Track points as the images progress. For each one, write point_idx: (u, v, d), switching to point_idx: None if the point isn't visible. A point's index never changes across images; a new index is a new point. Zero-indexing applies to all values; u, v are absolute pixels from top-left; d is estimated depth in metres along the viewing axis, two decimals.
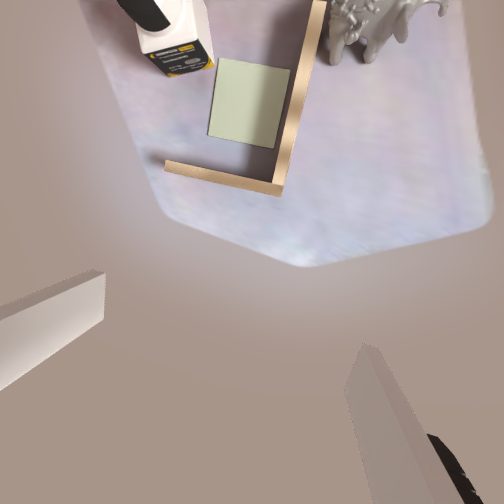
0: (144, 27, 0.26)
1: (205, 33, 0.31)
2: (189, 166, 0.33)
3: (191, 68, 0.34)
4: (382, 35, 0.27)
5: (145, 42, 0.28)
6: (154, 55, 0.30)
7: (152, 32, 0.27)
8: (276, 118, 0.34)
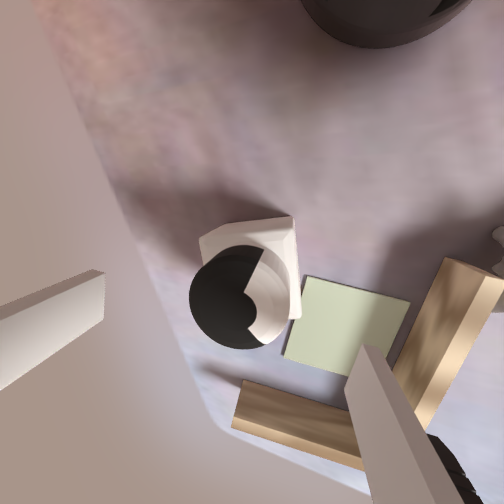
0: None
1: (298, 270, 0.22)
2: (267, 429, 0.24)
3: None
4: None
5: None
6: None
7: None
8: (382, 352, 0.25)
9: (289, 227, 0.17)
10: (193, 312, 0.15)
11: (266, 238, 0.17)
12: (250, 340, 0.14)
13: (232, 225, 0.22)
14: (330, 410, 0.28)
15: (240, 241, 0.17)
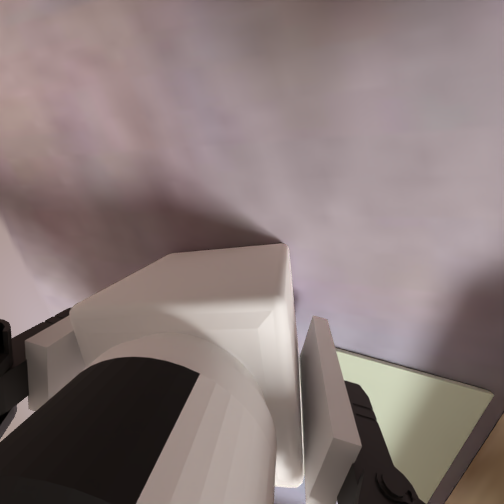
0: None
1: (296, 349, 0.11)
2: None
3: None
4: None
5: None
6: None
7: None
8: (437, 468, 0.15)
9: (274, 295, 0.07)
10: None
11: (219, 320, 0.07)
12: None
13: (174, 262, 0.12)
14: None
15: (157, 324, 0.07)
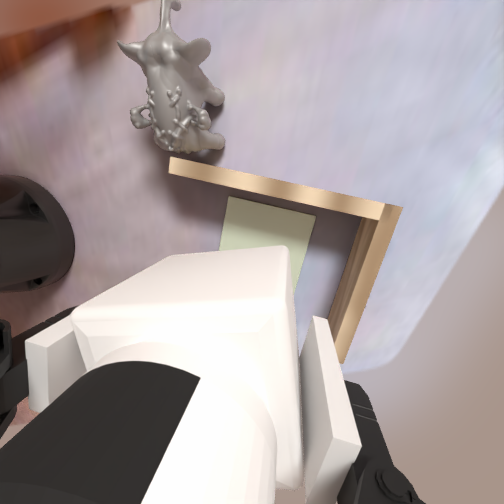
0: None
1: (296, 351, 0.12)
2: (340, 332, 0.25)
3: None
4: (200, 80, 0.22)
5: None
6: None
7: None
8: (279, 212, 0.27)
9: (275, 298, 0.07)
10: None
11: (219, 323, 0.07)
12: None
13: (174, 264, 0.12)
14: (350, 256, 0.27)
15: (157, 328, 0.07)
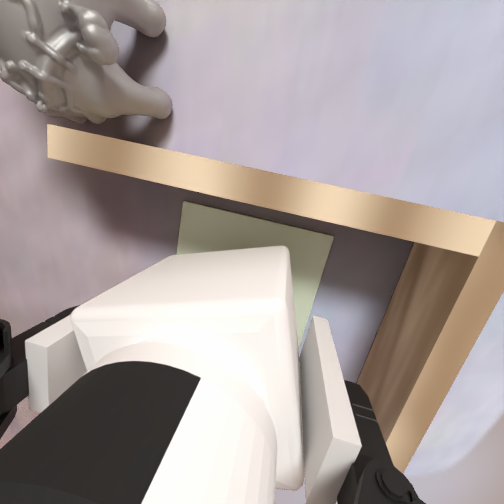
0: None
1: (296, 351, 0.12)
2: None
3: None
4: None
5: None
6: None
7: None
8: (270, 230, 0.16)
9: (275, 298, 0.07)
10: None
11: (219, 323, 0.07)
12: None
13: (174, 264, 0.12)
14: (393, 306, 0.15)
15: (157, 328, 0.07)
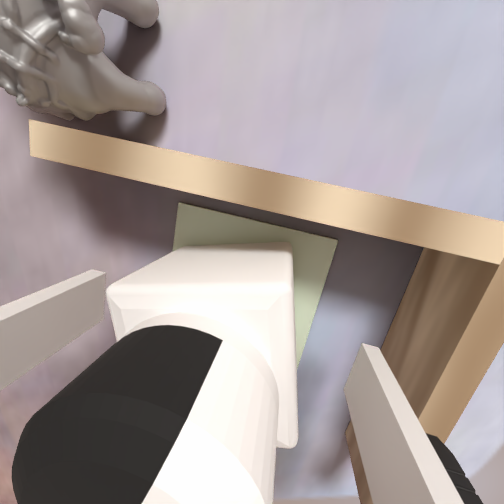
0: None
1: (295, 336, 0.13)
2: None
3: None
4: None
5: None
6: None
7: None
8: (270, 233, 0.15)
9: (283, 283, 0.08)
10: None
11: (235, 301, 0.08)
12: None
13: (189, 253, 0.13)
14: (401, 314, 0.15)
15: (182, 303, 0.09)
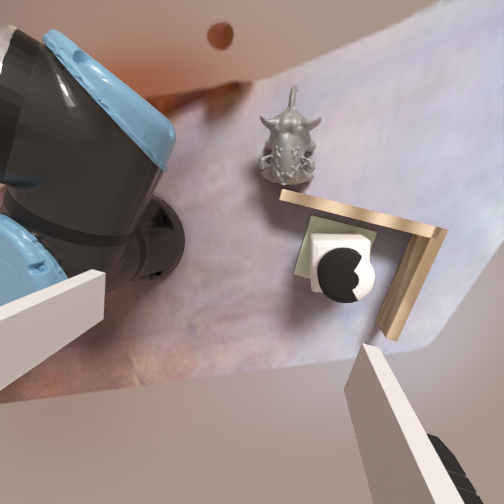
0: None
1: None
2: (396, 317, 0.34)
3: None
4: (307, 138, 0.32)
5: (318, 287, 0.33)
6: None
7: None
8: (349, 228, 0.37)
9: (368, 240, 0.30)
10: (321, 280, 0.28)
11: (354, 244, 0.30)
12: (351, 296, 0.27)
13: (321, 234, 0.36)
14: (402, 262, 0.36)
15: (338, 245, 0.31)
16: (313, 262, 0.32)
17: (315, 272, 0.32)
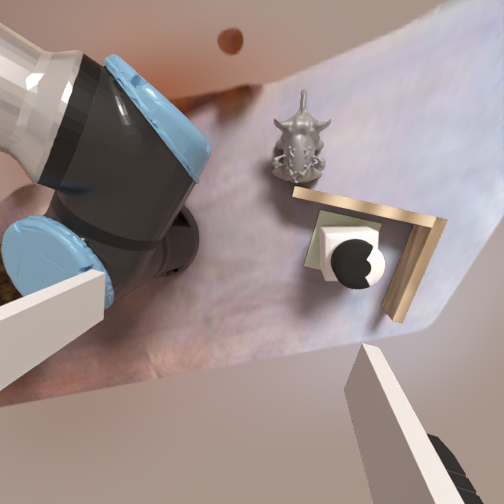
0: None
1: None
2: (402, 301, 0.37)
3: None
4: (317, 138, 0.34)
5: (331, 276, 0.35)
6: None
7: None
8: (356, 221, 0.40)
9: (376, 231, 0.33)
10: (336, 269, 0.31)
11: (364, 236, 0.33)
12: (364, 283, 0.30)
13: (331, 228, 0.38)
14: (405, 251, 0.39)
15: (349, 237, 0.34)
16: (326, 253, 0.35)
17: (328, 262, 0.35)
